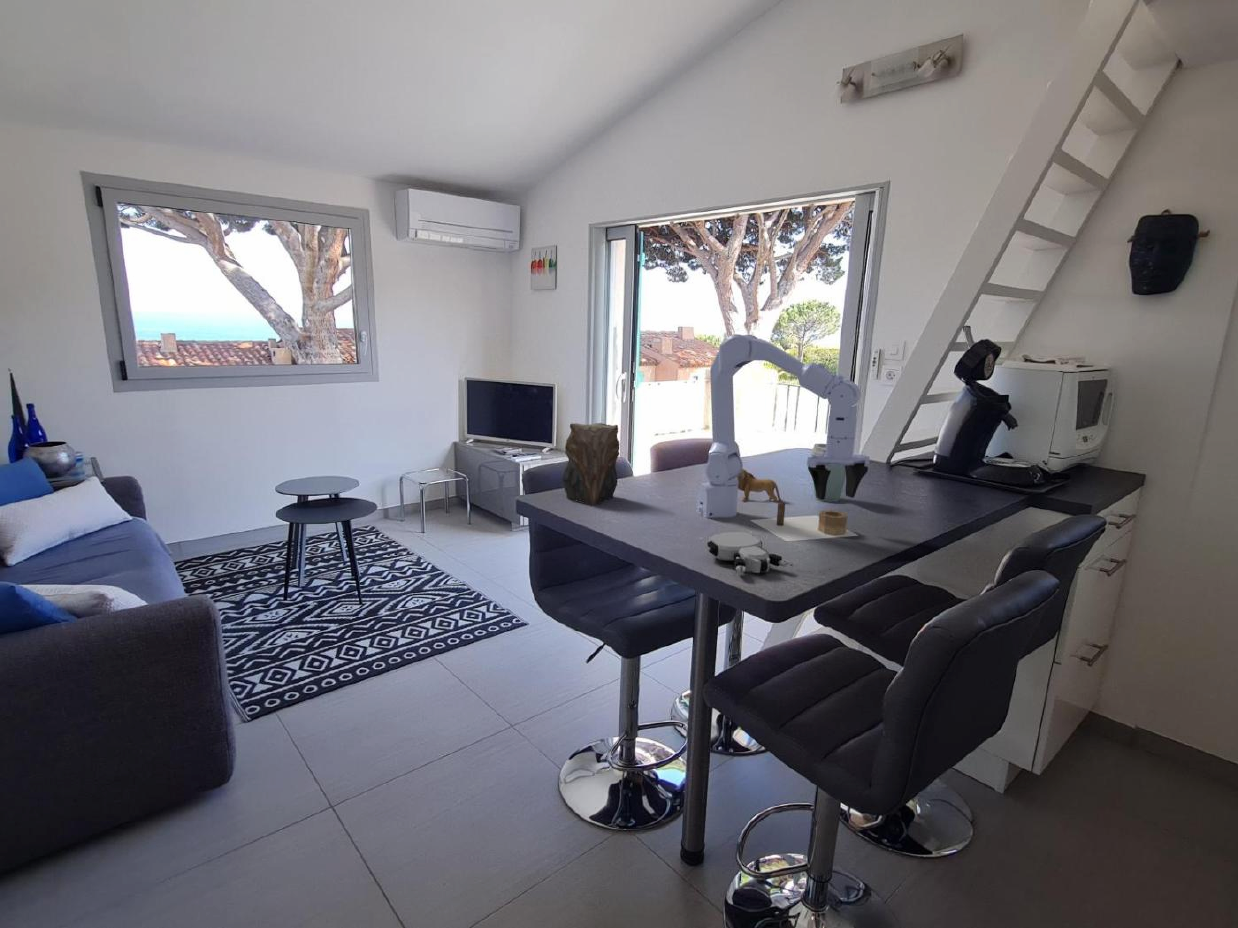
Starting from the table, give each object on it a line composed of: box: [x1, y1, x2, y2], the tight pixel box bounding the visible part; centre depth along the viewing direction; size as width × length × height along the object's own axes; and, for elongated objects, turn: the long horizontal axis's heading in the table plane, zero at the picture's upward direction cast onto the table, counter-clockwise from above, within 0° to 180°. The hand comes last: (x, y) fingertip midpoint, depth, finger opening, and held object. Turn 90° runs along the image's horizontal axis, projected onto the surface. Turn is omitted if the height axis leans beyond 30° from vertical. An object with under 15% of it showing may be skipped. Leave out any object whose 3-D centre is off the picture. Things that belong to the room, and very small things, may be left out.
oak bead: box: [818, 509, 848, 535], centre depth 142 cm, size 6×6×4 cm
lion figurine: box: [737, 468, 783, 503], centre depth 170 cm, size 15×5×9 cm, turn 71°
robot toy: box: [699, 531, 789, 574], centre depth 124 cm, size 12×4×15 cm
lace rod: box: [776, 501, 786, 526], centre depth 146 cm, size 2×2×6 cm
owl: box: [561, 422, 620, 506], centre depth 170 cm, size 13×13×20 cm
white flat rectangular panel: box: [750, 514, 859, 542], centre depth 145 cm, size 18×16×1 cm
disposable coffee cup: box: [810, 443, 846, 503], centre depth 174 cm, size 11×11×15 cm
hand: (835, 497), depth 141 cm, fingers open, 7 cm apart
